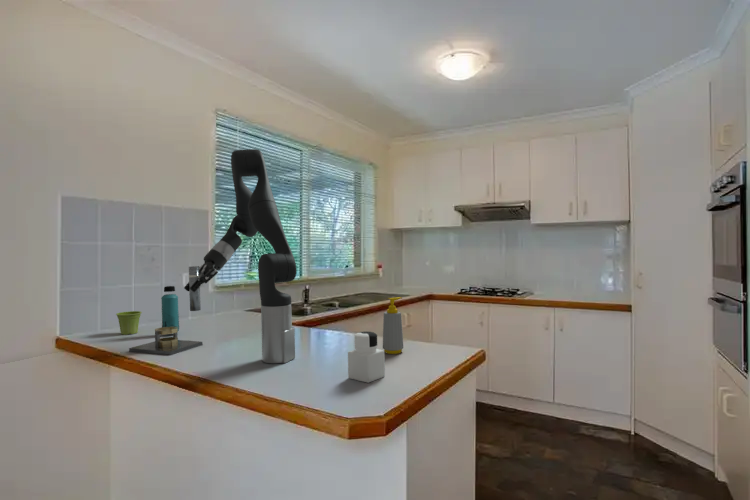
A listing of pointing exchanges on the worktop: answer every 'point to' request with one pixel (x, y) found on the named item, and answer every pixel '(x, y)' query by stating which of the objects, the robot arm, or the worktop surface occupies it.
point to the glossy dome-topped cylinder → (195, 295)
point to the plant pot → (129, 322)
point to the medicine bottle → (366, 358)
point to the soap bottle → (392, 329)
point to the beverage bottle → (170, 308)
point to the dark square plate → (166, 343)
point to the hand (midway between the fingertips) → (189, 289)
